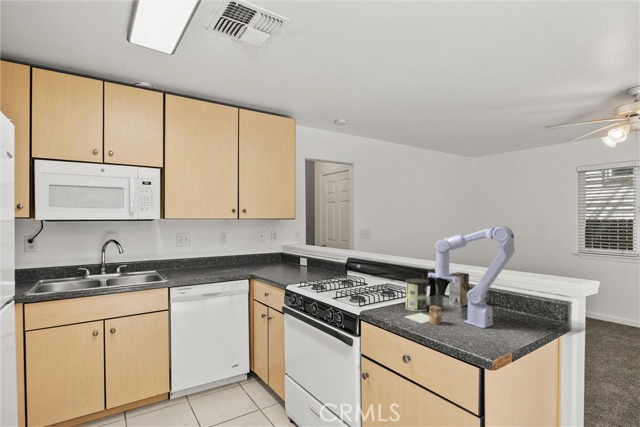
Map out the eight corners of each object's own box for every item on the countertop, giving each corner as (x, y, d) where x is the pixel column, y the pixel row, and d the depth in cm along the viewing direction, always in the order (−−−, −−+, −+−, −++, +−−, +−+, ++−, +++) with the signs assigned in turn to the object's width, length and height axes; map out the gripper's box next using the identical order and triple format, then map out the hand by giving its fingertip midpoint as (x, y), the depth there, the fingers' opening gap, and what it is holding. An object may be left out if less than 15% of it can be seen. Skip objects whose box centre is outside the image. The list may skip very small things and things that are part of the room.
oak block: (441, 323, 148) (441, 307, 148) (435, 325, 146) (436, 308, 146) (434, 321, 151) (434, 305, 151) (429, 322, 149) (429, 306, 149)
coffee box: (457, 301, 183) (457, 271, 183) (468, 304, 179) (469, 273, 178) (448, 304, 177) (449, 273, 177) (460, 307, 173) (461, 275, 172)
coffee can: (425, 306, 174) (426, 278, 174) (427, 312, 164) (428, 283, 164) (404, 305, 176) (405, 277, 176) (405, 310, 166) (406, 281, 166)
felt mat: (438, 319, 154) (438, 318, 154) (422, 323, 147) (422, 322, 147) (420, 313, 162) (420, 312, 162) (404, 317, 156) (404, 316, 156)
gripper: (424, 264, 161) (423, 292, 161) (451, 268, 149) (450, 300, 149) (433, 263, 165) (433, 291, 165) (460, 267, 153) (460, 297, 153)
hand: (442, 295), depth 157 cm, fingers closed
